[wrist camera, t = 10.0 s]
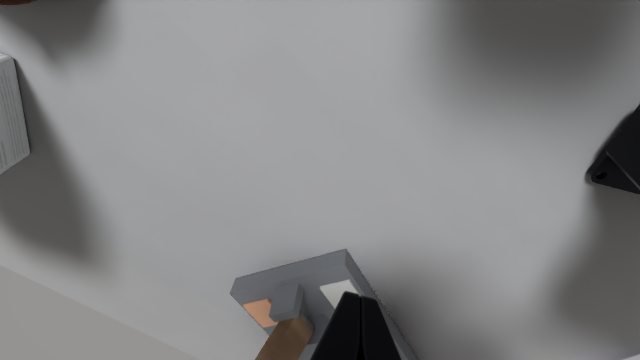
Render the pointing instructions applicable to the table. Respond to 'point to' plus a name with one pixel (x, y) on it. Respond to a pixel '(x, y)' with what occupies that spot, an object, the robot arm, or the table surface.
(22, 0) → the cup and saucer
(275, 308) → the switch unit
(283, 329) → the walnut lever
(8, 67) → the supplement box
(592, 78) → the table surface
